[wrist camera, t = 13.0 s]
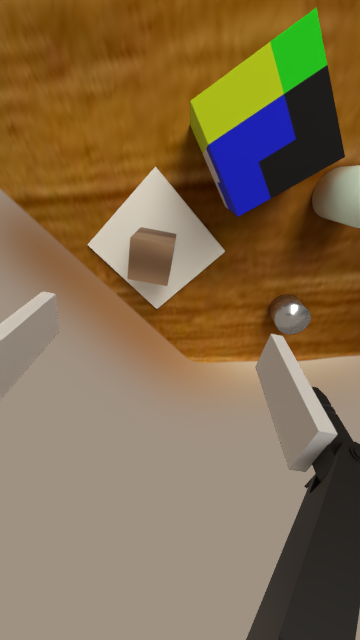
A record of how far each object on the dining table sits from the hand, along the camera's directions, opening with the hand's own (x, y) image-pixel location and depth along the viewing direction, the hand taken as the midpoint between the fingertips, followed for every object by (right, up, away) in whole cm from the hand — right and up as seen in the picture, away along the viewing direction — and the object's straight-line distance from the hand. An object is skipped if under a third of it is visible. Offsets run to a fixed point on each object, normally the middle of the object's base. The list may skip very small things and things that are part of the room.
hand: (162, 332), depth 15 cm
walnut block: (-2, +11, +20) cm, 23 cm away
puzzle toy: (+9, +22, +14) cm, 28 cm away
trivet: (-2, +12, +20) cm, 24 cm away
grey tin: (+18, +3, +25) cm, 31 cm away
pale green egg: (+21, +17, +16) cm, 32 cm away
